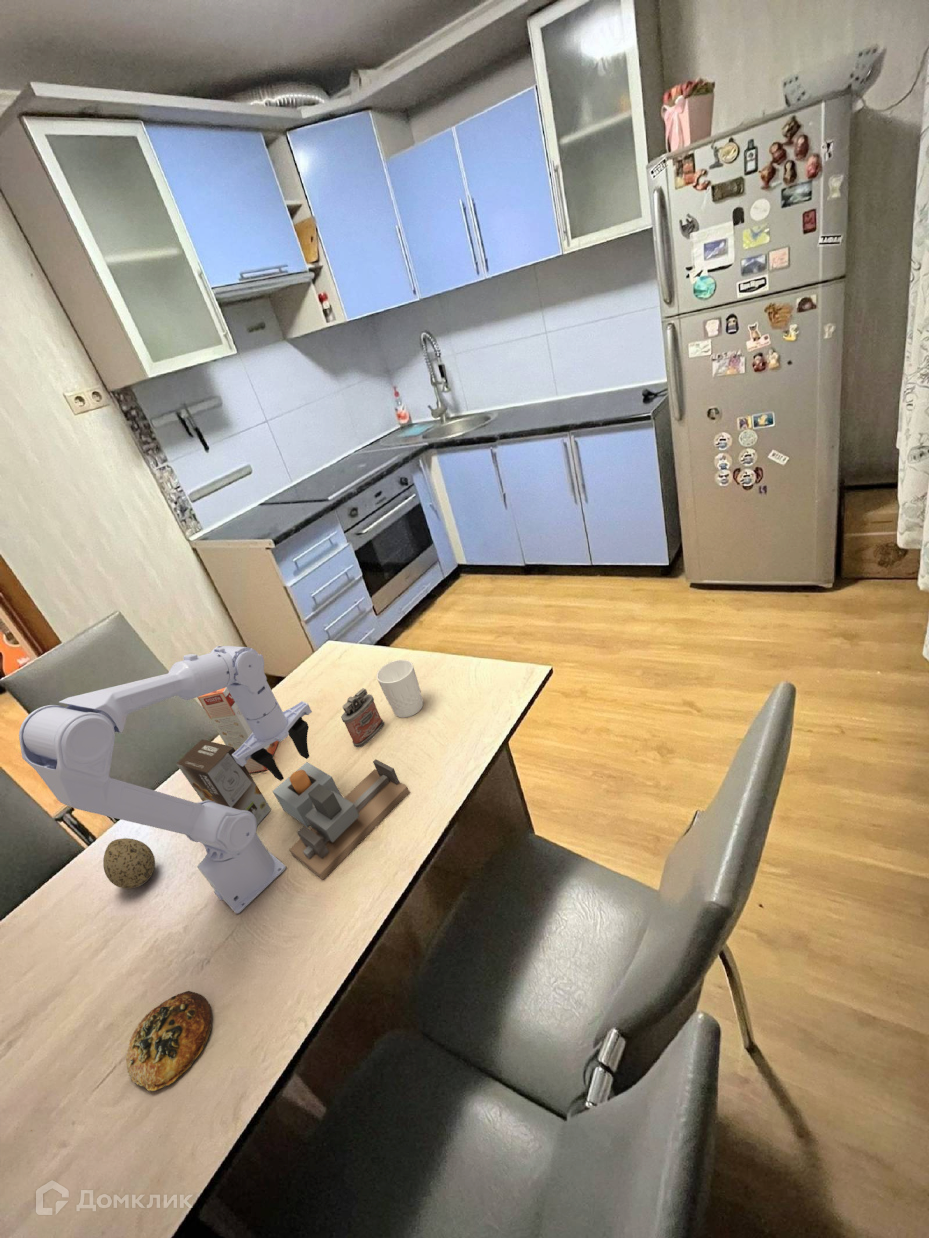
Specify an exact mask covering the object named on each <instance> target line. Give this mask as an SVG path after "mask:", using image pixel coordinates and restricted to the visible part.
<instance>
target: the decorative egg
mask: <svg viewBox="0 0 929 1238" xmlns="http://www.w3.org/2000/svg"><path fill="white" fill-rule="evenodd" d="M155 867H156V858H155V855H154V852H153V851H152V849H151V848H150V847H149V845H147V844H146V843H144V842H142V841H141V840H137V839H134V838H126V837H124V838H117V839H114V840H112V841H111V842H109V844H108V845H107V847H106V848H105V851H104V854H103V870H104V873H105V874H104V875H105V876H106V878H107V879H108V881H109V882H110V883H111V884H112V885H114V886H116V887H118V888H121V889H126V890H127V889H131V890H132V889H135V888H138V887H141V886H142V885H144V884H145V883H146V882H148V880H150V878H151V877H152V874H153V873H154V872H155Z"/></svg>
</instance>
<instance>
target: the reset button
mask: <svg viewBox="0 0 929 1238" xmlns="http://www.w3.org/2000/svg"><path fill="white" fill-rule="evenodd" d="M297 770H298V769H297ZM297 770H296V771H295V772H292V774H291V775H290V776H289V777H290V782H291V784H292V785H293V787H294V789H295V791H296V793H297V794H298V795H299V796H300V795H301V794H302V793H303V792H304V791H305V790H306V789H308V788H309V787H310V786H311V785H312V783H311V781H310V779H309V777H308V776H307V774H306V772H305V771H304V770H298V771H297Z"/></svg>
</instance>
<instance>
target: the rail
mask: <svg viewBox="0 0 929 1238" xmlns="http://www.w3.org/2000/svg"><path fill="white" fill-rule="evenodd" d="M372 764H373V765H374V769H373V770H372V771H371V772H370V773H369V774H368V775H366V776H365V778H363V779H362V780H361V781H360V782H359V783H358V784H357V785H356V786H355V787H353V789H352V790H350V792H348V793H347V795H345V796H344V797H343V798H345V799H347V800H348V801H350V802H352V803H353V804H354V805H355V807H356V809H357V811H358V813H359V815H360V816H359V817H358V818H357V819H356V820H355V821H354V822H353V823H352V824H351V825H350V826H349V827H348V828H347V829H346V830H345V831H344V832H343V833H342V834H341V835H340V836H339V837H338V838H337V839H336V840H335V841H334V842H333V843H332V842H331V841H330V840H328V839H327V838H325V837H324V836H323V835H321V834H320V833H319V832H317V831H316V830H314V829H313V828H312V827H311V828H308V827H306V826H305V825H302V827H301V828H299V829H298V830H297V831H296V833H297V835H298V836H299V839H298V840H297V841H296V842H295V843H294V844H293V845H292V846H290V848H289V849H288V850H289V852H290V854H291V855H292V856H293V858H295V859H296V860H298V861H299V862H300V863H301V864H303V865H304V866H305V867H306V868H307V869H308V870H310V871H312V873H314V874H315V875H316V876H318V877H319V878H320V879H321V880H322V881H324V880H325V879H326V878H327V877H328V876H329V875H330V874H331V873H332V872H333V871H334V870H335V868H337V867H338V866H339V865H340V864H341V863H342V862H343V860H345V859H346V858H347V857H348V856H349V855H350V854H351V852H353V850H355V848H357V847H358V846H359V844H360V843H361V842H362V841H363V840H365V838H366V837H368V835H370V833H372V831H373V830H374V829H375V828H376V827H377V826H378V825H379V824H380V823H381V822H382V821H383V820H384V819H385V818H386V817H387V816H388V814H390V813H391V812H392V810H394V809H395V807H397V806H398V805H399V804H400V803H401V802H402V801H403V800H404V798H405V797H406V796H407V795H408V794H409V793H410V790H409V788H408V786H407V785H405V784H404V783H401V781H400V780H399V777H398V775H397V772H396V771H395V769H394V767H391V766H389V765H388V764H386V763H383V762H382V761H380V760H378V759H374V760H373V761H372Z"/></svg>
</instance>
